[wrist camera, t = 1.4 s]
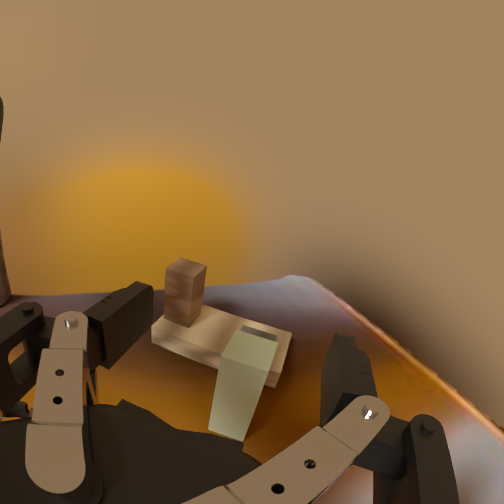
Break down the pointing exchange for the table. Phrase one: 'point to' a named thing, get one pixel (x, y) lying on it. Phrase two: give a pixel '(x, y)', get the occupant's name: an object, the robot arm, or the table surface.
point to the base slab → (206, 322)
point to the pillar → (240, 383)
